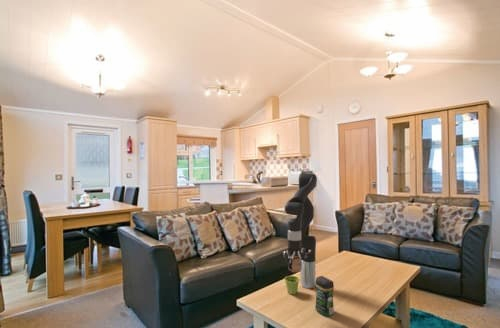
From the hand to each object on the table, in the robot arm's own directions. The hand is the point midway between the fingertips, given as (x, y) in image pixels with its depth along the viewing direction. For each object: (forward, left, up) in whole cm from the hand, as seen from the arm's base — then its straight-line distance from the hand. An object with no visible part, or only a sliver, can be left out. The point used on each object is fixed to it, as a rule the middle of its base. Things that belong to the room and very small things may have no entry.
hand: (294, 268), depth 151 cm
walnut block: (0, 0, -1) cm, 1 cm away
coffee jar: (+8, +14, -23) cm, 29 cm away
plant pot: (-18, +9, -23) cm, 31 cm away
